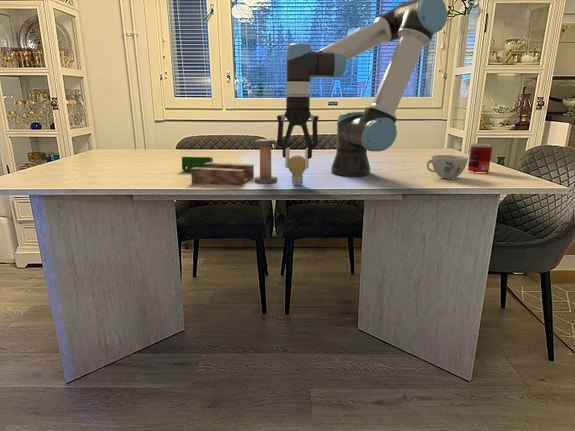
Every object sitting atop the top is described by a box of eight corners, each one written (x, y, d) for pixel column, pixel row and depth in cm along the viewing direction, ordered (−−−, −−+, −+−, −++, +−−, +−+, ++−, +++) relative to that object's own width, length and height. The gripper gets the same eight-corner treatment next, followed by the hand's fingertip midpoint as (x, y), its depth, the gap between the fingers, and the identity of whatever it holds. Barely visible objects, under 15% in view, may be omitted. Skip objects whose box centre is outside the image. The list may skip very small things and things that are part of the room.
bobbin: (279, 179, 145) (279, 139, 141) (273, 184, 138) (273, 141, 134) (258, 178, 147) (257, 138, 143) (251, 183, 139) (250, 141, 135)
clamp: (208, 180, 164) (217, 160, 164) (204, 180, 158) (213, 159, 158) (182, 168, 165) (190, 148, 164) (177, 167, 159) (186, 146, 158)
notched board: (253, 177, 148) (253, 164, 147) (241, 185, 135) (240, 171, 134) (208, 175, 152) (207, 162, 151) (191, 183, 139) (190, 168, 137)
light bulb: (285, 186, 135) (284, 156, 132) (291, 182, 141) (291, 154, 138) (303, 187, 133) (303, 156, 130) (309, 183, 139) (308, 154, 136)
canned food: (489, 171, 164) (493, 144, 160) (486, 174, 157) (491, 146, 154) (469, 169, 168) (473, 143, 164) (465, 172, 161) (469, 145, 158)
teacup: (454, 174, 157) (457, 153, 155) (472, 180, 145) (475, 158, 143) (418, 175, 156) (420, 154, 153) (432, 181, 144) (435, 159, 141)
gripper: (328, 96, 130) (326, 167, 137) (272, 95, 134) (272, 164, 141) (325, 96, 123) (323, 171, 130) (266, 95, 127) (266, 168, 134)
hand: (297, 167), depth 135 cm, fingers closed on light bulb, 6 cm apart
